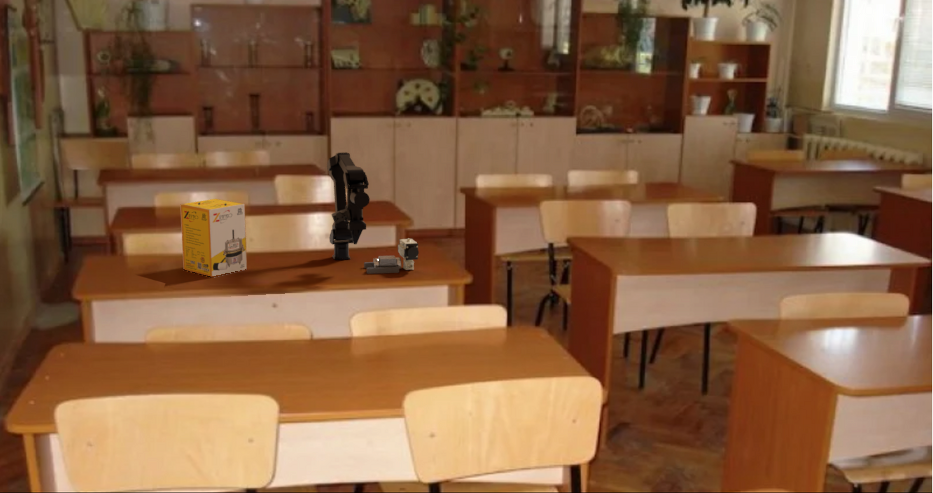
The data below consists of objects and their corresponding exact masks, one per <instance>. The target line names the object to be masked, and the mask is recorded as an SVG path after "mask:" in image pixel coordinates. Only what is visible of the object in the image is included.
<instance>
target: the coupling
mask: <svg viewBox="0 0 933 493" xmlns="http://www.w3.org/2000/svg"><path fill="white" fill-rule="evenodd" d="M372 262H373V266H374V267H399V270H401V269H402V259H401V257H396V256H395V255H378V258H377V257H374V258H373V261H372Z"/></svg>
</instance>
